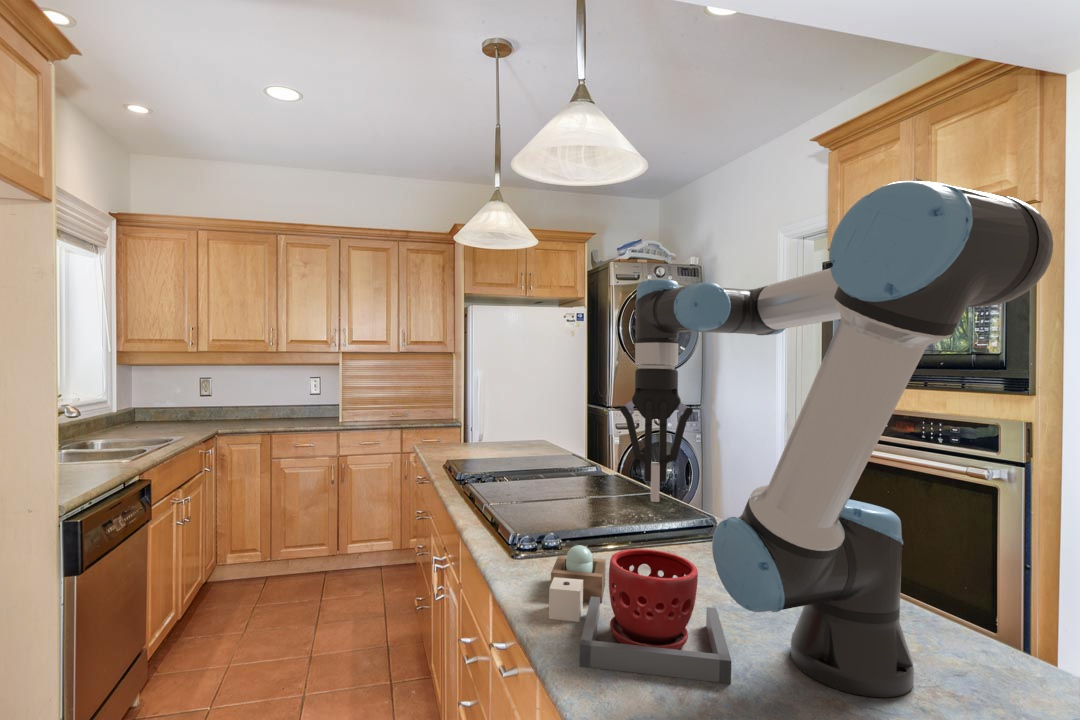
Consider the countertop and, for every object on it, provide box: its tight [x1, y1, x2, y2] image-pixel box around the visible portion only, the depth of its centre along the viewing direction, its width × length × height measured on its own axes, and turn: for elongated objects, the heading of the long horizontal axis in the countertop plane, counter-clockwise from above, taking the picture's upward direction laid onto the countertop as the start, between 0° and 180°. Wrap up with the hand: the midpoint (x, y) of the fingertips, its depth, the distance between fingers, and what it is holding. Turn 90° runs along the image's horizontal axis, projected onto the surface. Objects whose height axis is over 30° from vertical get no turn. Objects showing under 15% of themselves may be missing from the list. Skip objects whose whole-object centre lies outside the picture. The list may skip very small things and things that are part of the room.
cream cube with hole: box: [548, 577, 584, 623], centre depth 97 cm, size 5×5×5 cm
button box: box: [550, 555, 607, 604], centre depth 106 cm, size 9×9×4 cm
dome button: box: [566, 544, 593, 573], centre depth 106 cm, size 5×5×7 cm
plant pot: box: [608, 548, 699, 650], centre depth 88 cm, size 13×13×12 cm
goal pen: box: [578, 596, 732, 685], centre depth 86 cm, size 20×16×3 cm
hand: (654, 499), depth 104 cm, fingers closed
